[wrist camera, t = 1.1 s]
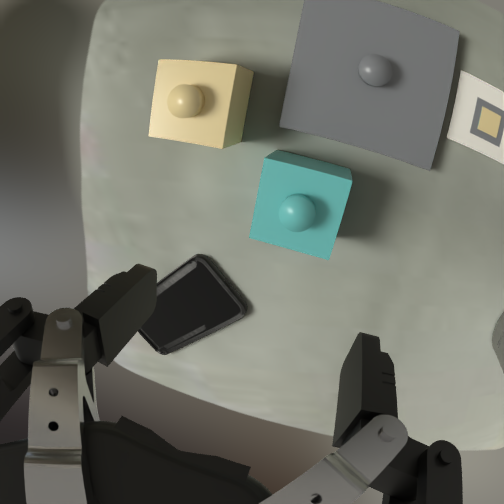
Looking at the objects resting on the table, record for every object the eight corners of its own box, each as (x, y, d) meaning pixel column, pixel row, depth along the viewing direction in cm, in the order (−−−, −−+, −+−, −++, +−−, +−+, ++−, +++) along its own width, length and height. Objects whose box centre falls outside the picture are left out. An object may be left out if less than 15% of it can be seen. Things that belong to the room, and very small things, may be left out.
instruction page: (525, 105, 16) (526, 105, 16) (511, 168, 19) (512, 168, 19) (460, 70, 17) (461, 70, 17) (446, 137, 20) (447, 137, 20)
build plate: (454, 34, 16) (463, 28, 14) (425, 168, 22) (433, 173, 20) (308, -10, 18) (305, -19, 16) (281, 125, 24) (276, 127, 22)
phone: (120, 311, 36) (198, 253, 30) (124, 306, 37) (203, 248, 31) (162, 357, 38) (250, 314, 31) (166, 351, 39) (253, 308, 32)
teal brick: (350, 168, 24) (353, 184, 19) (330, 236, 26) (328, 266, 22) (276, 149, 25) (261, 160, 20) (262, 217, 27) (245, 243, 23)
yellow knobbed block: (254, 71, 22) (232, 62, 17) (241, 141, 25) (217, 150, 20) (186, 64, 23) (151, 58, 18) (176, 130, 26) (141, 137, 21)
